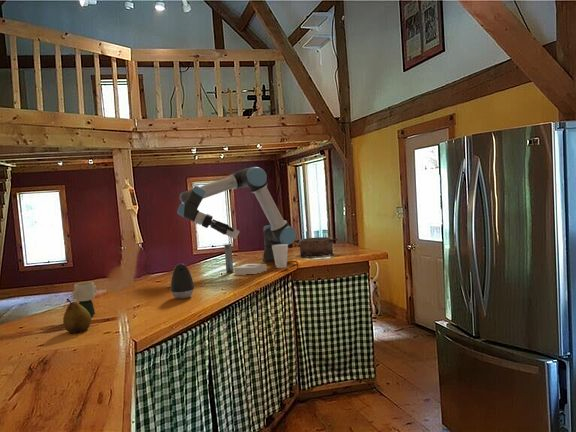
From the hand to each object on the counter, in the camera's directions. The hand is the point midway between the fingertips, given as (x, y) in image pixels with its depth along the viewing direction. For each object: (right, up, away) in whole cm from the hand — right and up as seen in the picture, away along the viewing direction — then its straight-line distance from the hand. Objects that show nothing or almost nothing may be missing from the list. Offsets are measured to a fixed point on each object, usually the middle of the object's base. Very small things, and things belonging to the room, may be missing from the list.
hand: (237, 235), depth 275 cm
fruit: (-44, -29, -108) cm, 120 cm away
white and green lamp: (-50, -28, -86) cm, 104 cm away
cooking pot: (+48, -16, +55) cm, 75 cm away
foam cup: (+25, -19, +8) cm, 32 cm away
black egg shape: (-18, -25, -62) cm, 69 cm away
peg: (-5, -21, 0) cm, 22 cm away
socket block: (+8, -21, -6) cm, 23 cm away
